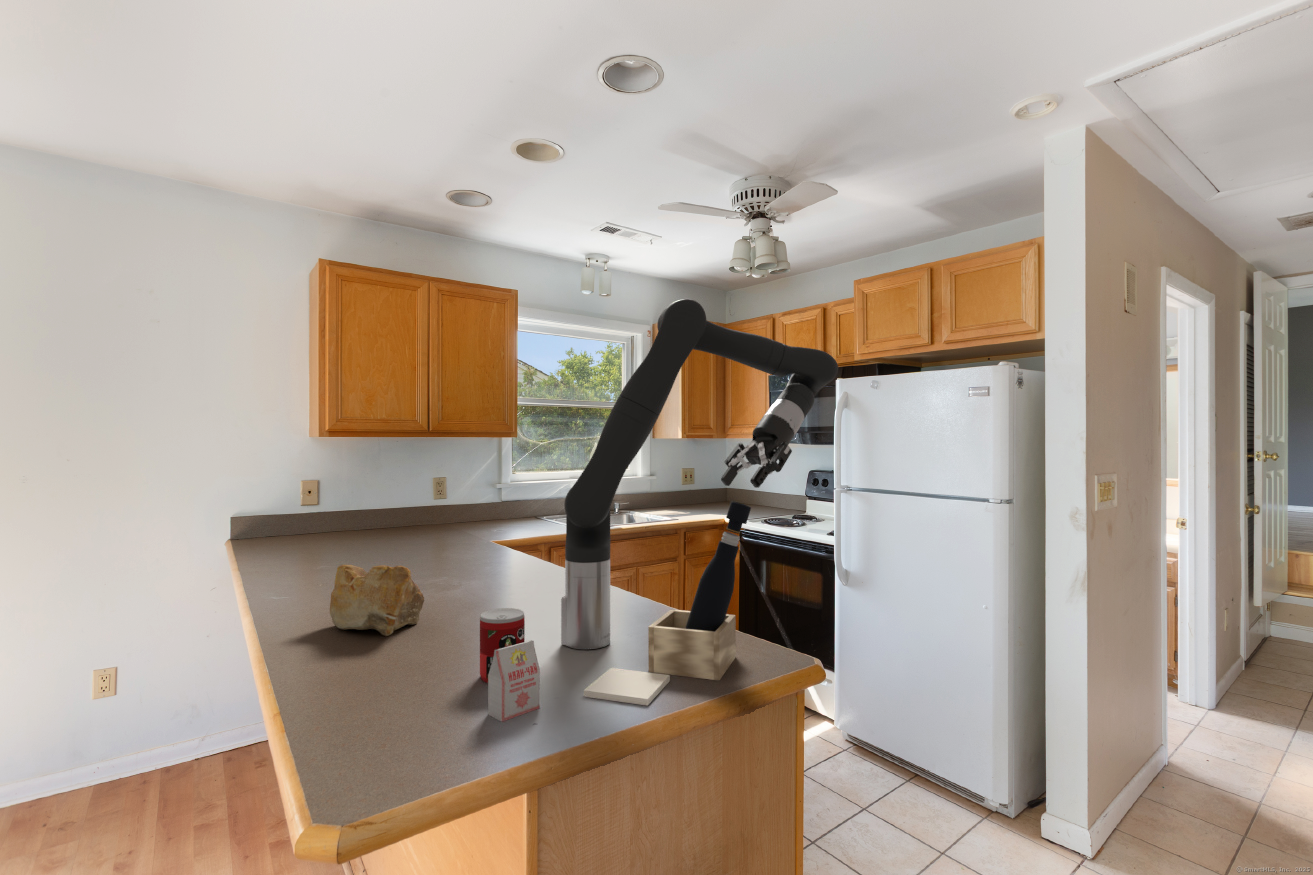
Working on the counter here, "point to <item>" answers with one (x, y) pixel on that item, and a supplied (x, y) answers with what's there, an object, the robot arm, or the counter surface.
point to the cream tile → (627, 686)
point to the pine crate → (690, 647)
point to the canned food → (499, 634)
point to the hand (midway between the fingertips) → (738, 483)
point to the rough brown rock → (375, 598)
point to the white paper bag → (514, 681)
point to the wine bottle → (718, 576)
